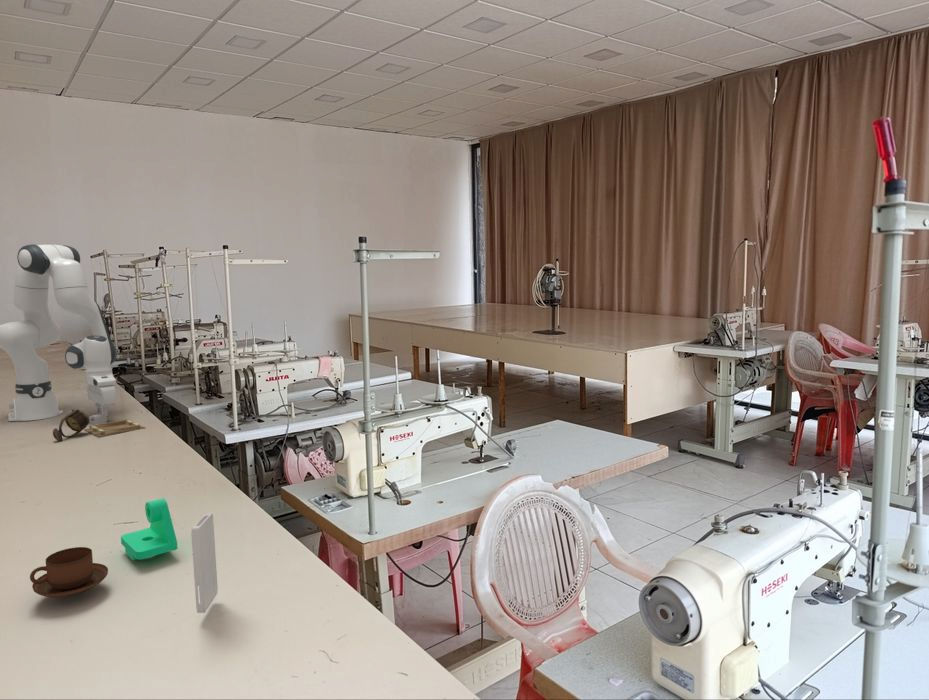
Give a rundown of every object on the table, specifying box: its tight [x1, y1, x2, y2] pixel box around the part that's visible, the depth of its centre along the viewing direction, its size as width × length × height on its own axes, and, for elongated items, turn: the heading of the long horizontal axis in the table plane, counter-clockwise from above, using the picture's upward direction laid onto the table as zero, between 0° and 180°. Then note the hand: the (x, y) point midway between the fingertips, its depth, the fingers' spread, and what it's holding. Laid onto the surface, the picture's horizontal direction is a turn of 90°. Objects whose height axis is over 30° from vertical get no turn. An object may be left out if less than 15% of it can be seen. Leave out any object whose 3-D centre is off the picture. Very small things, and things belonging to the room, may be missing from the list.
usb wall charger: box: [88, 413, 113, 426], centre depth 251 cm, size 4×7×4 cm, turn 151°
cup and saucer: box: [29, 546, 109, 598], centre depth 121 cm, size 12×12×6 cm
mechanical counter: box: [52, 408, 90, 442], centre depth 230 cm, size 7×13×10 cm, turn 174°
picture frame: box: [83, 419, 146, 439], centre depth 240 cm, size 15×16×2 cm
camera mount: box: [120, 497, 179, 561], centre depth 136 cm, size 12×8×10 cm, turn 43°
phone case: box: [190, 513, 219, 614], centre depth 113 cm, size 7×1×15 cm, turn 3°
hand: (102, 414), depth 251 cm, fingers open, 4 cm apart
